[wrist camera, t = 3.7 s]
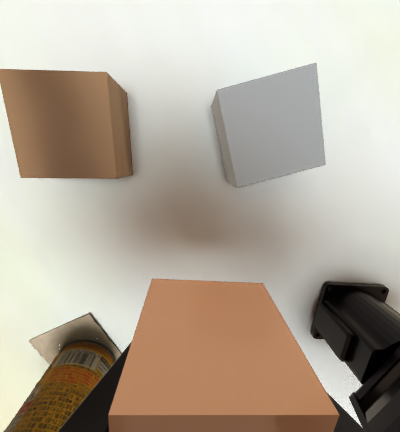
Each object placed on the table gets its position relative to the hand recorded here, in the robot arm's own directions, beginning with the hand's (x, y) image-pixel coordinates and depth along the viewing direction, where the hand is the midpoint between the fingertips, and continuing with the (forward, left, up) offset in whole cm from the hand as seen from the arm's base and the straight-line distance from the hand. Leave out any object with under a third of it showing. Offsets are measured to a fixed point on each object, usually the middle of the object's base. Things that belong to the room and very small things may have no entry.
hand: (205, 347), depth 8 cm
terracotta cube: (0, 0, -1) cm, 1 cm away
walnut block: (+9, -8, -11) cm, 17 cm away
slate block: (-4, -9, -11) cm, 15 cm away
